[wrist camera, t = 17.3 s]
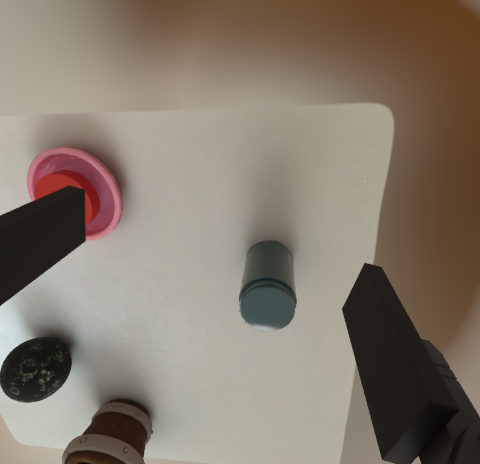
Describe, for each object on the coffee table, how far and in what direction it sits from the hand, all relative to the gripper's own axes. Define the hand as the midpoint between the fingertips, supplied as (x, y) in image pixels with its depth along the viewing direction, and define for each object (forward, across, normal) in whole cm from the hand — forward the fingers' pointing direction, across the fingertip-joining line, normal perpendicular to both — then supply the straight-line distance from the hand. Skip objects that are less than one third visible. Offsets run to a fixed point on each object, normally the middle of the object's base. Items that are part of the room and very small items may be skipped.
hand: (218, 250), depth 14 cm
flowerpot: (+24, -13, -58) cm, 64 cm away
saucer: (+24, -22, -11) cm, 34 cm away
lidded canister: (+25, +5, -14) cm, 29 cm away
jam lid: (+20, -22, -11) cm, 31 cm away
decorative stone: (+24, -27, -43) cm, 56 cm away
